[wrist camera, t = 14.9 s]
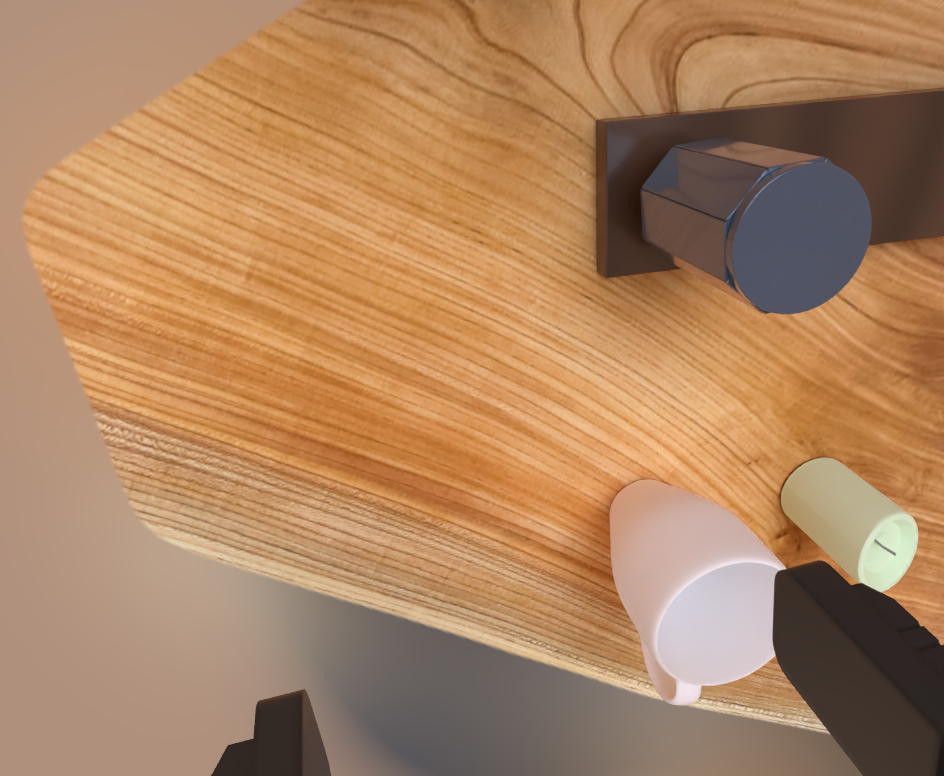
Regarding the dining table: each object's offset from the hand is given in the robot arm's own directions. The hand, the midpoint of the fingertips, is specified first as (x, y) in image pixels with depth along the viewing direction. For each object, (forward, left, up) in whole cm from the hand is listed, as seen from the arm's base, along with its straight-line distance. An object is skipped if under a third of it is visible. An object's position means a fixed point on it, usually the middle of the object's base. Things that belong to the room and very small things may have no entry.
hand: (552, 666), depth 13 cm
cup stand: (+16, +16, -30) cm, 38 cm away
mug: (+24, -6, -30) cm, 39 cm away
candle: (+33, +3, -30) cm, 45 cm away
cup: (+11, +11, -26) cm, 31 cm away
